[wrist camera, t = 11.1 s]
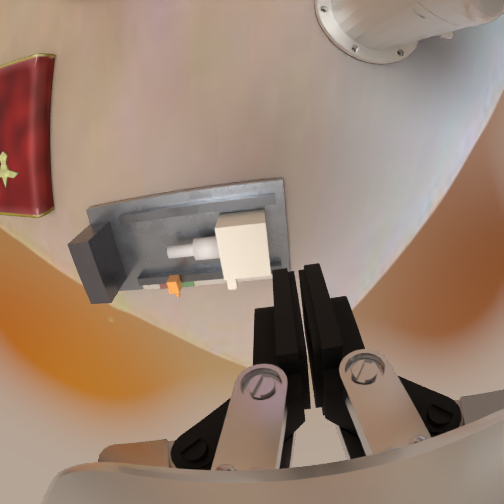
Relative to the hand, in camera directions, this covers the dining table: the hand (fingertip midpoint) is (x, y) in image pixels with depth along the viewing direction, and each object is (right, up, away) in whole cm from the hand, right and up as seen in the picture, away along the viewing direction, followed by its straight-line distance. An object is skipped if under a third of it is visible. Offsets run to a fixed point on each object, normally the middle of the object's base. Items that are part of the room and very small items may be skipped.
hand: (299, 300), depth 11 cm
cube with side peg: (-5, +2, +24) cm, 25 cm away
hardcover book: (-33, +18, +19) cm, 42 cm away
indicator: (-11, -2, +25) cm, 27 cm away
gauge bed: (-10, +3, +25) cm, 27 cm away
